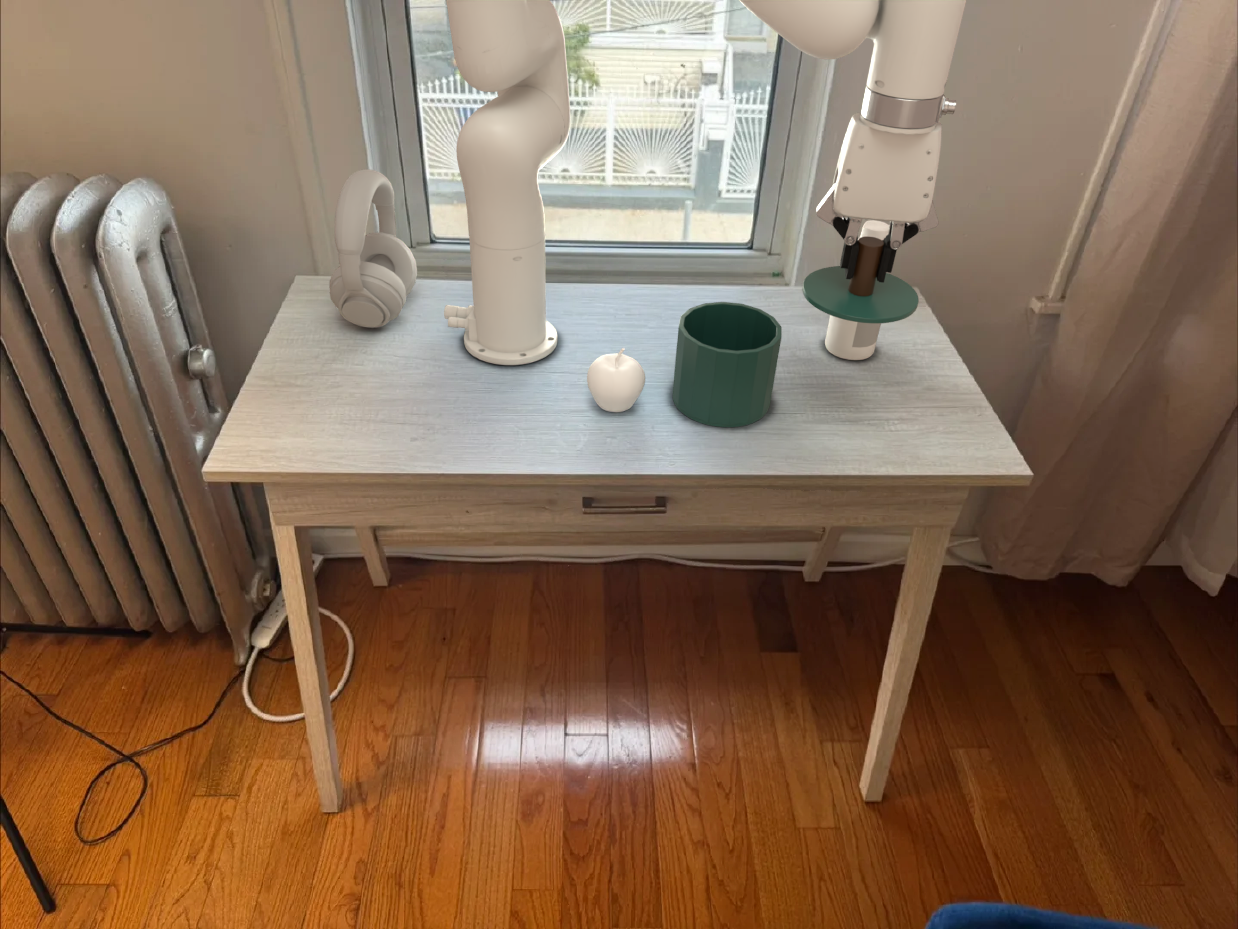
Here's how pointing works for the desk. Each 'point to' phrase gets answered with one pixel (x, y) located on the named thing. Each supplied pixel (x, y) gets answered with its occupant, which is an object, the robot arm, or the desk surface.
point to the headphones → (369, 254)
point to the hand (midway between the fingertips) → (864, 274)
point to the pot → (725, 363)
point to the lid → (861, 289)
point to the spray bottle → (850, 335)
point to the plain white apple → (615, 381)
